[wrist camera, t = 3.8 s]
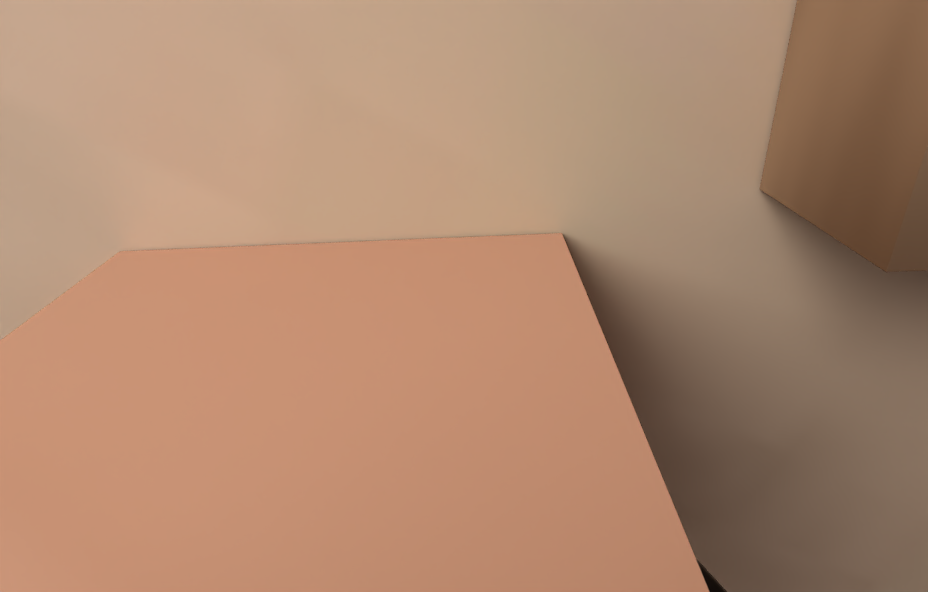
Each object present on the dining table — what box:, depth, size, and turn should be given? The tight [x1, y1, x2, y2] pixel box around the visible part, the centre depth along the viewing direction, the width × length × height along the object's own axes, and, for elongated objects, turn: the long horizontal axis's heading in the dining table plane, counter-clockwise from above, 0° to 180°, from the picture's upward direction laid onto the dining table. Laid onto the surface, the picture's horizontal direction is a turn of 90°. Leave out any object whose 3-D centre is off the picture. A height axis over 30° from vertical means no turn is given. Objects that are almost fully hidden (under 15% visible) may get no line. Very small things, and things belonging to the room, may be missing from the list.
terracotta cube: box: [0, 233, 709, 592], centre depth 6 cm, size 6×6×6 cm
